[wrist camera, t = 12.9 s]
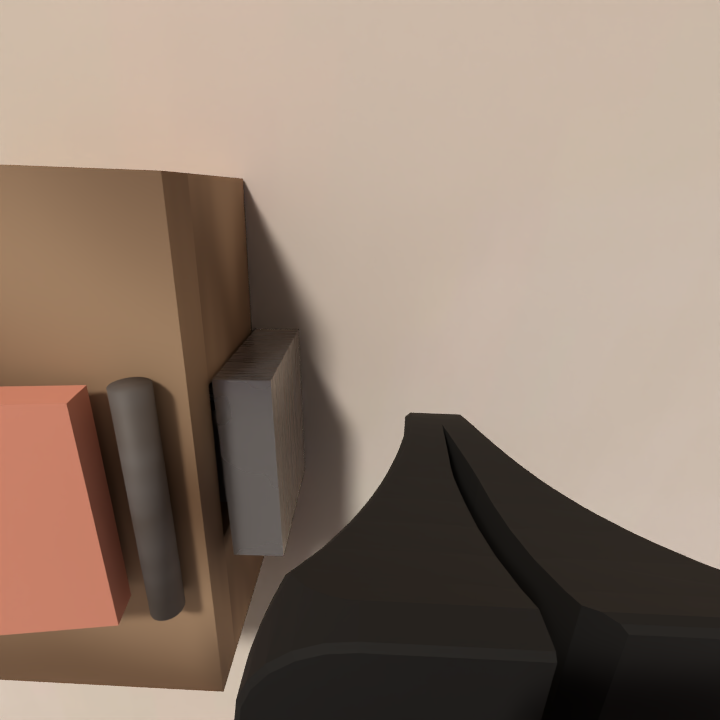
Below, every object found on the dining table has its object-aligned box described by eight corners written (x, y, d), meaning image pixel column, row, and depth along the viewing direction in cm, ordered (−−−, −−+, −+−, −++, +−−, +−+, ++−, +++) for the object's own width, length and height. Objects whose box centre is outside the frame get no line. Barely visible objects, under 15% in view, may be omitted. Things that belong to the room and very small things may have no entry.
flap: (118, 625, 9) (-76, 641, 8) (131, 595, 9) (-49, 608, 9) (66, 403, 7) (-187, 408, 6) (86, 385, 8) (-143, 389, 7)
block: (264, 554, 15) (213, 726, 10) (92, 546, 15) (-40, 712, 10) (242, 178, 11) (135, 167, 6) (0, 169, 11) (-302, 151, 6)
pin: (305, 467, 14) (283, 556, 10) (21, 460, 14) (-91, 545, 11) (299, 328, 12) (270, 380, 9) (-24, 323, 12) (-172, 372, 9)
